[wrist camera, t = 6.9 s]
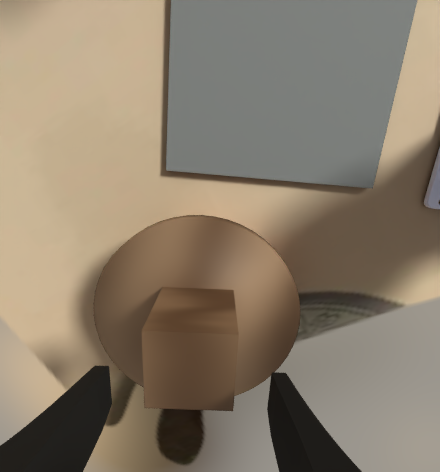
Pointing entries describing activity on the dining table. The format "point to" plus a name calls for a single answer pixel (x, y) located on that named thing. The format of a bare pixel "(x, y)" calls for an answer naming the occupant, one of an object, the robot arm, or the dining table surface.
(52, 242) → the dining table surface
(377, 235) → the dining table surface
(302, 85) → the mat
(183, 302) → the brown disc
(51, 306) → the dining table surface
